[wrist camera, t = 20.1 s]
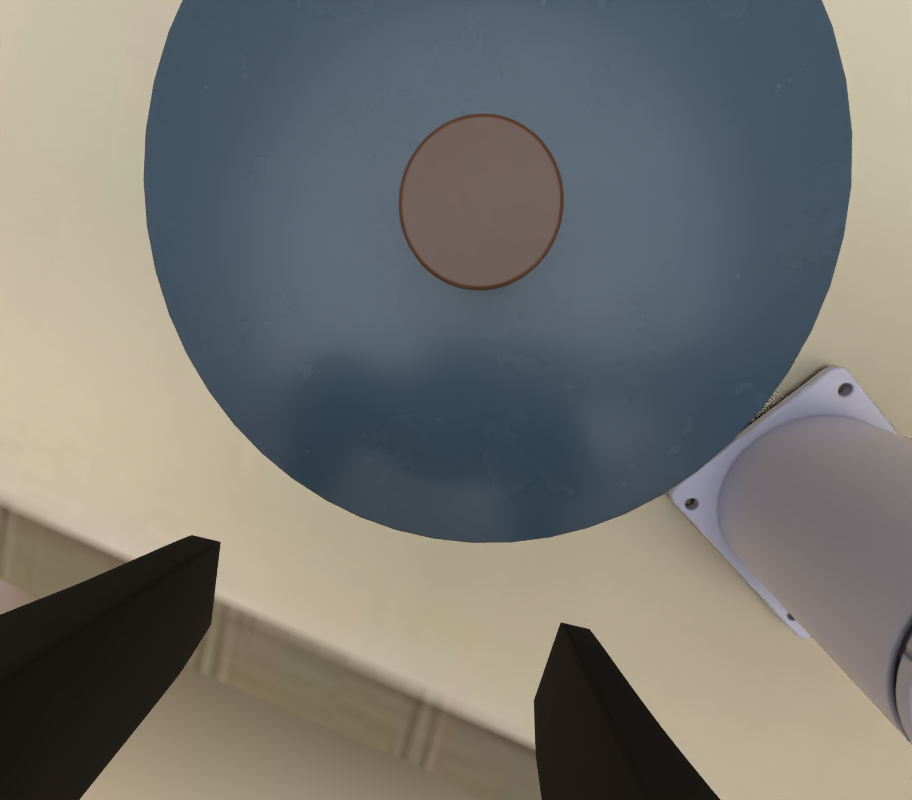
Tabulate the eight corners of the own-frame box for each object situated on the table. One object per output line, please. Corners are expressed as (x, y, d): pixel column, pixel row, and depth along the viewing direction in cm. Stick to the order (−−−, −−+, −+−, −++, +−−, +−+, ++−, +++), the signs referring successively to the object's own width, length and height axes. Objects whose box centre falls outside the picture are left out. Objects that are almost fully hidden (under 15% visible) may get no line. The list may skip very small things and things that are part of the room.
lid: (951, 243, 10) (1285, 214, 6) (469, 617, 14) (463, 775, 9) (501, -378, 8) (519, -1084, 4) (57, 230, 12) (-201, 197, 7)
